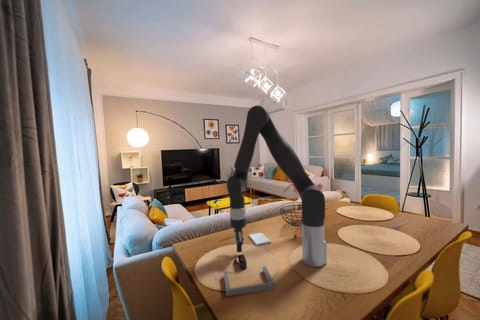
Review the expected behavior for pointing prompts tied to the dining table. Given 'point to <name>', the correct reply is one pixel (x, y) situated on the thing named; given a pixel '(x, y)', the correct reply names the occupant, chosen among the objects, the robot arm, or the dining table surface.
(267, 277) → the slot rails
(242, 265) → the wireless earbuds
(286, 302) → the dining table surface
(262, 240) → the hard drive
